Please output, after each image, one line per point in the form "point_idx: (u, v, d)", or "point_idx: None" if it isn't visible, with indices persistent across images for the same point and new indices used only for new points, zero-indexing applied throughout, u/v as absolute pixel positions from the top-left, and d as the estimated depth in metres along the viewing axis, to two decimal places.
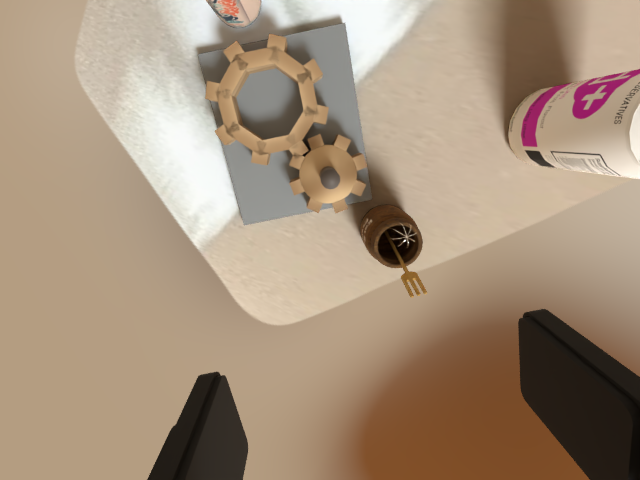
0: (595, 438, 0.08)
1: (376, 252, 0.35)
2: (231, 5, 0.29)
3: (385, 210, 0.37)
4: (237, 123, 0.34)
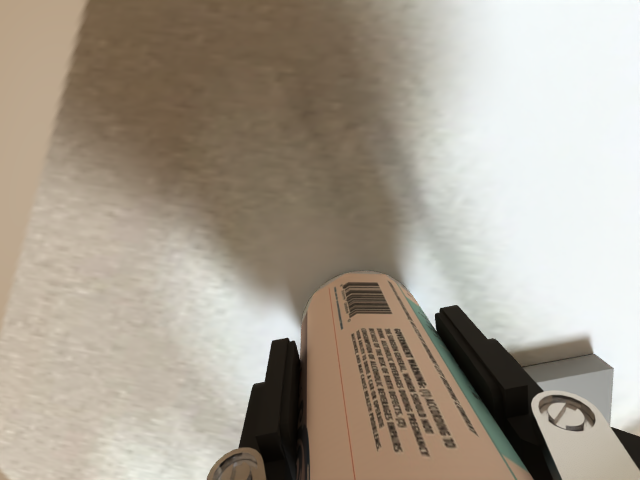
0: None
1: None
2: None
3: None
4: None
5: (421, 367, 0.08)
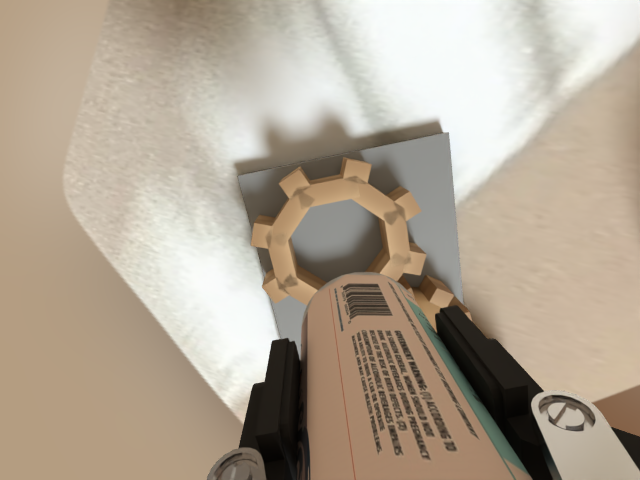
0: None
1: None
2: None
3: None
4: (295, 276, 0.24)
5: (422, 369, 0.08)
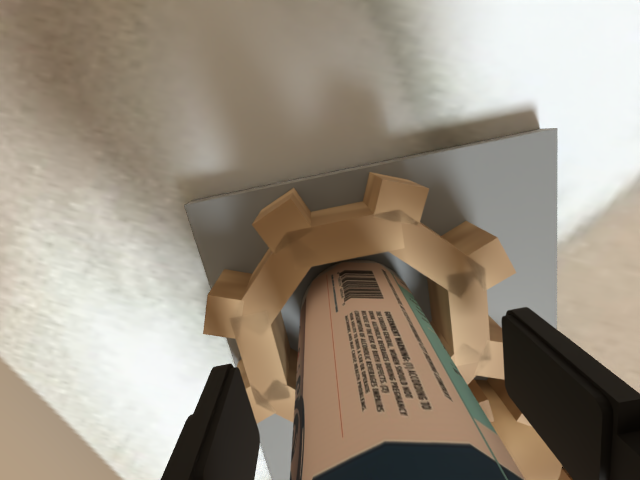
0: (571, 431, 0.08)
1: None
2: None
3: None
4: (284, 383, 0.13)
5: (407, 344, 0.09)
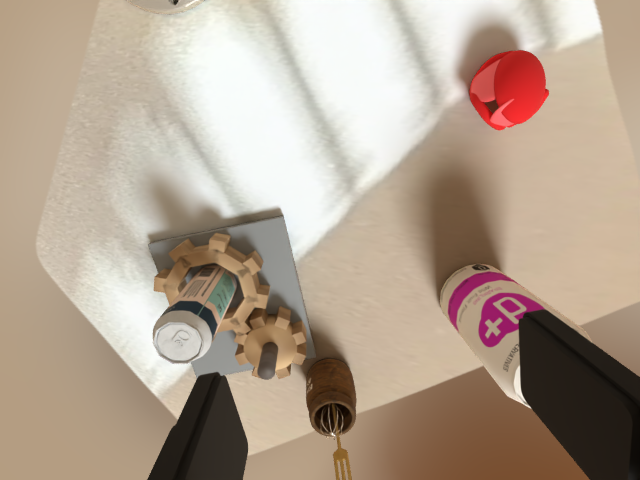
0: (595, 438, 0.08)
1: (313, 425, 0.38)
2: None
3: (325, 376, 0.40)
4: None
5: (203, 287, 0.32)
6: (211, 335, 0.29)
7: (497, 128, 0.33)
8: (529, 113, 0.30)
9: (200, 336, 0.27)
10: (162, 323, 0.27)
